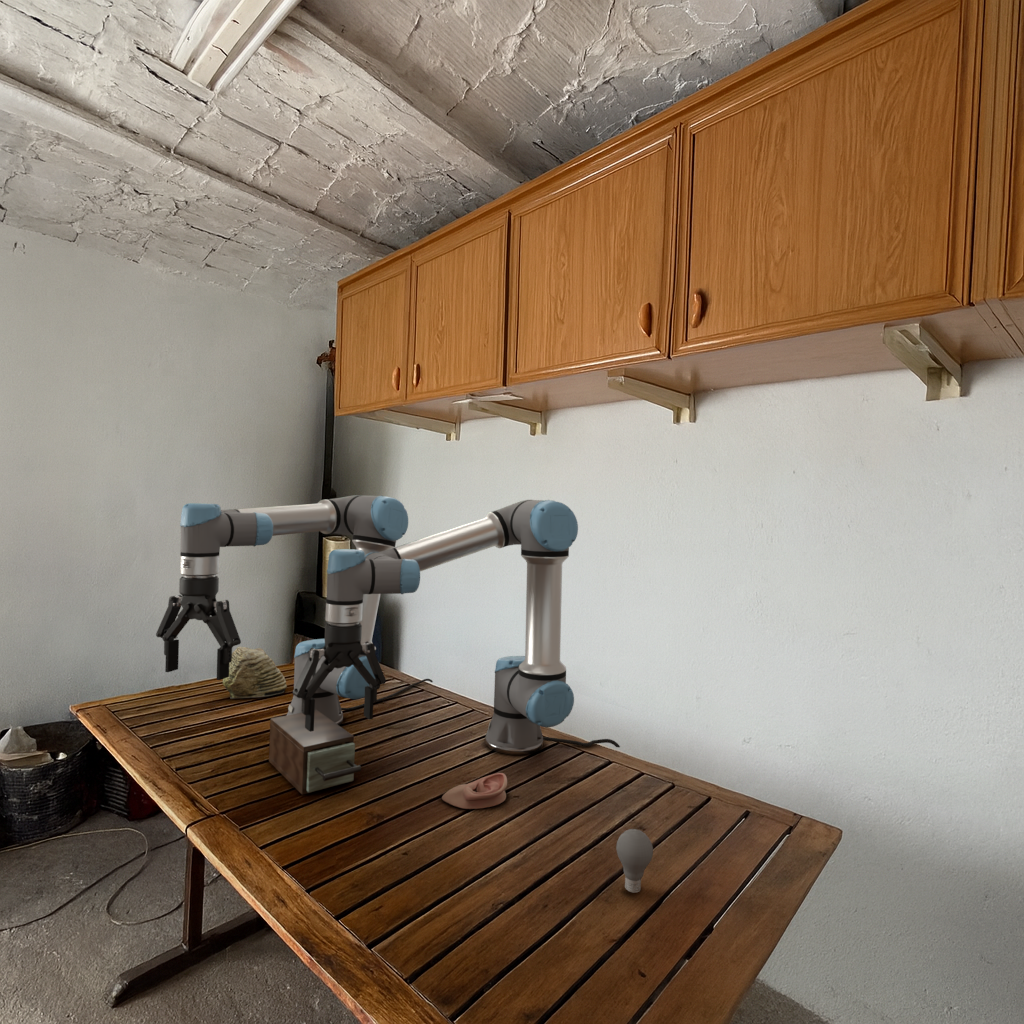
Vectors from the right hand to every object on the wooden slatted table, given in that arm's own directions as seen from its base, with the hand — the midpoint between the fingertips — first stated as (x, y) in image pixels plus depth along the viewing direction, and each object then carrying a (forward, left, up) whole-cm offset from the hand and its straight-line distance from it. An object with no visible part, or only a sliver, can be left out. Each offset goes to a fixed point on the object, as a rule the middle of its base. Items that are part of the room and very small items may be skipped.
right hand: (339, 723), depth 134 cm
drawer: (+2, -9, -15) cm, 17 cm away
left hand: (+28, -15, +9) cm, 33 cm away
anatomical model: (-27, +10, -16) cm, 33 cm away
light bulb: (-40, +50, -16) cm, 66 cm away
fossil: (+13, -76, -16) cm, 79 cm away
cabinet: (+4, -15, -16) cm, 22 cm away
